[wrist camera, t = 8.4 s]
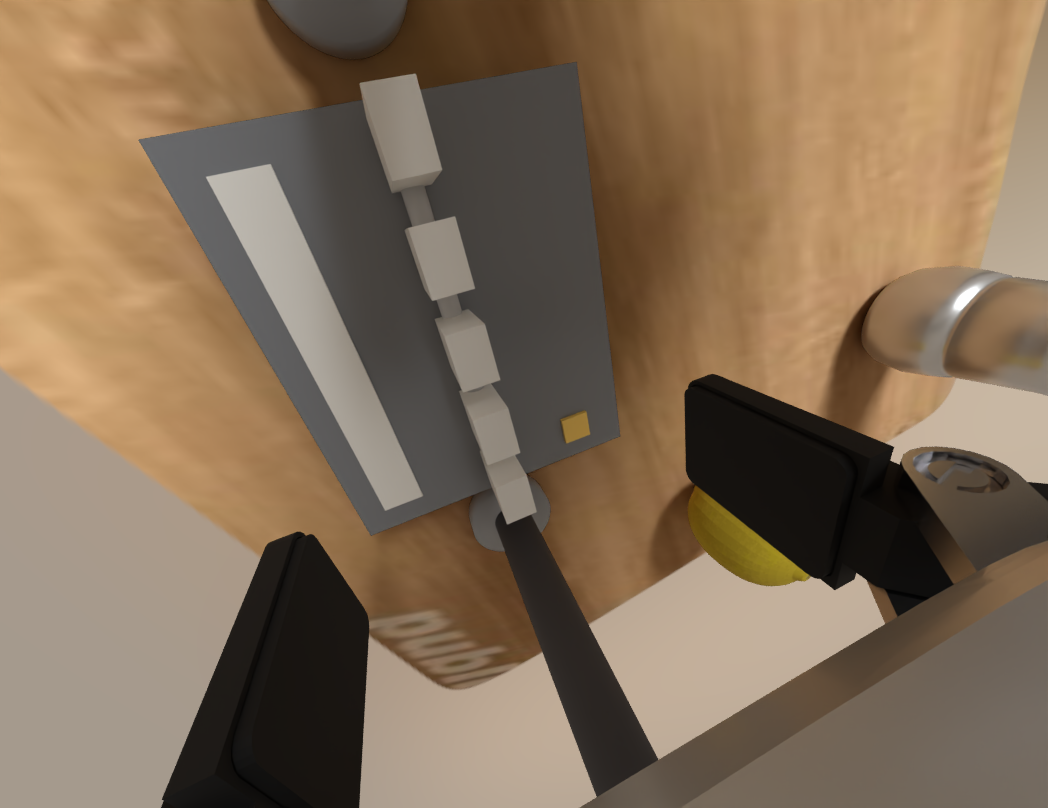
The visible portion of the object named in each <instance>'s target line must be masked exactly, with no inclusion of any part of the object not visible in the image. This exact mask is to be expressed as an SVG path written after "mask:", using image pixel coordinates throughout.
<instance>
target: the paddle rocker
mask: <svg viewBox="0 0 1048 808" xmlns="http://www.w3.org/2000/svg"><path fill="white" fill-rule="evenodd" d="M359 84H360V89H361V94H362V99H363V104H364V109H365V114H366V119H367V122H368V125H369V127H370V130H371V133H372V136H373V139H374V142H375V145H376V148H377V151H378V154H379V157H380V160H381V163H382V166H383V169H384V172H385V175H386V178H387V180H388V183H389V186H390V189H391V192H392V193H396V192H401V194H402V197H403V200H404V203H405V206H406V209H407V212H408V215H409V218H410V221H411V224H412V227H410V228H407V229H406V230H405V233H406V236H407V239H408V242H409V245H410V248H411V251H412V254H413V257H414V260H415V263H416V266H417V269H418V272H419V275H420V278H421V281H422V283H423V286H424V289H425V291H426V292H427V294H428V295H429V297H430V298H431V300H432V301H434V300H437V303H438V306H439V309H440V312H441V315H442V317H440V318H436V319H435V322H436V325H437V328H438V331H439V333H440V336H441V339H442V342H443V345H444V348H445V351H446V354H447V357H448V360H449V363H450V366H451V368H452V370H453V373H454V375H455V377H456V379H457V381H458V383H459V385H460V387H461V389H462V390H461V391H459V392H460V395H461V398H462V401H463V404H464V407H465V410H466V413H467V416H468V419H469V422H470V425H471V428H472V431H473V433H474V435H475V438H476V440H477V442H478V445H479V447H480V449H481V451H480V454H481V457H482V460H483V463H484V466H485V469H486V472H487V475H488V478H489V481H490V484H491V486H492V489H493V491H494V493H495V496H496V498H497V501H498V503H499V506H500V508H501V511H502V513H503V515H504V518H505V520H506V523H507V524H510V523H512V522H514V521H517V520H519V519H522V518H524V517H526V516H529V515H531V514H533V513H536V512H537V511H536V507H535V503H534V500H533V496H532V493H531V489H530V485H529V482H528V478H527V475H526V473H525V471H524V470H523V468H522V466H521V465H520V463H519V461H518V459H517V458H516V456H515V455H516V454H519V453H520V449H519V446H518V442H517V438H516V435H515V431H514V427H513V424H512V420H511V417H510V413H509V409H508V407H507V406H506V404H505V403H504V401H503V400H502V398H501V397H500V396H499V394H498V393H497V391H496V390H495V388H494V387H493V386H492V384H491V383H493V382H496V381H499V380H500V377H499V373H498V370H497V366H496V362H495V359H494V355H493V351H492V348H491V344H490V341H489V337H488V333H487V330H486V326H485V324H484V323H483V322H482V321H481V320H480V319H479V318H478V317H477V316H475V315H474V314H473V313H472V312H471V311H470V310H469V309H467V310H463V311H462V309H461V306H460V303H459V299H458V296H457V294H458V293H462V292H465V291H469V290H472V289H475V286H474V283H473V279H472V275H471V272H470V268H469V265H468V261H467V257H466V254H465V250H464V247H463V243H462V239H461V236H460V232H459V228H458V225H457V221H456V218H455V216H454V217H450V218H446V219H442V220H438V221H435V220H434V216H433V213H432V210H431V206H430V203H429V200H428V196H427V193H426V190H425V186H427V185H431V184H432V183H433V182H434V181H435V179H436V178H437V177H438V175H439V174H440V173H441V171H442V167H441V163H440V160H439V156H438V152H437V149H436V145H435V142H434V138H433V134H432V131H431V127H430V123H429V120H428V116H427V113H426V109H425V105H424V102H423V98H422V94H421V91H420V87H419V84H418V80H417V76H416V73H415V74H409V75H403V76H398V77H392V78H386V79H380V80H374V81H368V82H362V83H359Z"/></svg>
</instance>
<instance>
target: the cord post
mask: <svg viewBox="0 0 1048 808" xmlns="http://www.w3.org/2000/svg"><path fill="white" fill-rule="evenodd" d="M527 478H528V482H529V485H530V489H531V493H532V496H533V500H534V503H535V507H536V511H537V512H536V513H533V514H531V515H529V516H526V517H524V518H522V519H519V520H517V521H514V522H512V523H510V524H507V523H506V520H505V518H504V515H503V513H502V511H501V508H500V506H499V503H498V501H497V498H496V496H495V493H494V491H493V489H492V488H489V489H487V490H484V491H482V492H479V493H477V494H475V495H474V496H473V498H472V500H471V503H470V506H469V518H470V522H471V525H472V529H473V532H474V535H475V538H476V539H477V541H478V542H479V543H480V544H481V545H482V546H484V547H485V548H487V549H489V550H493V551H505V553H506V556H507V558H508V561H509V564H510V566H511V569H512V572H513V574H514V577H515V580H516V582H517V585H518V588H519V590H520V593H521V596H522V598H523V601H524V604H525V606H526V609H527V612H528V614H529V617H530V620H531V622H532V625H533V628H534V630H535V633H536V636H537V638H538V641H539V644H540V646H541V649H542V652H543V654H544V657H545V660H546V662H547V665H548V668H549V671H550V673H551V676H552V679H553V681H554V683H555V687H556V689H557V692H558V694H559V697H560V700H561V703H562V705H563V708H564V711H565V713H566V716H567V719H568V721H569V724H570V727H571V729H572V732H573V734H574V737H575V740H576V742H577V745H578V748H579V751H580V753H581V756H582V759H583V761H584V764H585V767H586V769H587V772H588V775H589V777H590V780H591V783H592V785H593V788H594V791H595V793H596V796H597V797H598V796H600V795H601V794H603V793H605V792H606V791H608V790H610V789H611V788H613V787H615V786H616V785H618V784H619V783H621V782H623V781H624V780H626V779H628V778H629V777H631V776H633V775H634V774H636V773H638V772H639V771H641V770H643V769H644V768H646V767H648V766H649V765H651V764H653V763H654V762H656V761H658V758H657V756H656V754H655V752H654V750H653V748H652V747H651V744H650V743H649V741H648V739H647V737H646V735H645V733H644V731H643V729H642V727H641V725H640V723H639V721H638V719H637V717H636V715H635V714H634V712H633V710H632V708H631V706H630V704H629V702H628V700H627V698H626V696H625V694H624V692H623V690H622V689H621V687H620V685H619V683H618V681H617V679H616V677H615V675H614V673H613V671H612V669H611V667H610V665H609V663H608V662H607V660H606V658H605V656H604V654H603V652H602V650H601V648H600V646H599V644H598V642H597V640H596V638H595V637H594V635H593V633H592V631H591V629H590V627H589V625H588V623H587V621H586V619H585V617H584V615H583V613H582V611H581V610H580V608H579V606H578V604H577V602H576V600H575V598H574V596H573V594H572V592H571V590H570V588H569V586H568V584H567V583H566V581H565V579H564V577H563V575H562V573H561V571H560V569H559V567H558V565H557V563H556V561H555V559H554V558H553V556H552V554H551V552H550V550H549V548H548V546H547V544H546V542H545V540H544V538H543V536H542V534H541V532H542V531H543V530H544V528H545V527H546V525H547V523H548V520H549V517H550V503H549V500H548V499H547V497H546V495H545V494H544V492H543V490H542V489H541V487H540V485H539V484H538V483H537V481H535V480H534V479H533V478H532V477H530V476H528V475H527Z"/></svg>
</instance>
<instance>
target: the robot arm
mask: <svg viewBox="0 0 1048 808" xmlns="http://www.w3.org/2000/svg"><path fill="white" fill-rule="evenodd" d="M685 445H686V473H687V475H688V477H689V479H690V480H691V482H692V483H693V484H695V485H696V486H697V487H698V488H700V489H701V490H702V491H703V492H705V493H706V494H707V495H708V496H710V497H711V498H712V499H713V500H715V501H716V502H717V503H719V504H720V505H721V506H722V507H724V508H725V509H726V510H727V511H729V512H730V513H731V514H732V515H734V516H735V517H736V518H737V519H739V520H740V521H741V522H742V523H744V524H745V525H746V526H747V527H749V528H750V529H751V530H752V531H754V532H755V533H756V534H757V535H759V536H760V537H761V538H762V539H764V540H765V541H766V542H768V543H769V544H770V545H771V546H773V547H774V548H775V549H776V550H778V551H779V552H780V553H781V554H783V555H784V556H785V557H786V558H788V559H789V560H790V561H791V562H793V563H794V564H795V565H796V566H798V567H799V568H800V569H801V570H803V571H804V572H805V573H807V574H808V575H810V576H811V577H814V578H817V579H821V580H822V581H824V582H825V583H826V584H828V585H829V586H830V587H832V588H833V589H834V590H836V589H838V588H840V587H841V586H843V585H845V584H847V583H849V582H850V581H852V580H854V579H855V575H856V573H858V574H859V575H861V576H862V577H863V578H865V579H866V580H867V582H868V584H869V587H870V589H871V591H872V594H873V596H874V599H875V601H876V603H877V605H878V608H879V610H880V612H881V615H882V617H883V620H884V622H885V625H883V626H881V627H880V628H878V629H876V630H875V631H873V632H872V633H870V634H868V635H866V636H865V637H863V638H861V639H860V640H858V641H856V642H855V643H853V644H851V645H849V646H848V647H846V648H844V649H843V650H841V651H839V652H838V653H836V654H834V655H833V656H831V657H829V658H828V659H826V660H824V661H823V662H821V663H819V664H817V665H816V666H814V667H812V668H811V669H809V670H808V671H806V672H804V673H802V674H801V675H799V676H797V677H796V678H794V679H792V680H791V681H789V682H787V683H786V684H784V685H782V686H781V687H779V688H777V689H776V690H774V691H772V692H771V693H769V694H767V695H766V696H764V697H763V698H761V699H759V700H757V701H756V702H754V703H752V704H751V705H749V706H747V707H746V708H744V709H742V710H741V711H739V712H737V713H736V714H734V715H732V716H731V717H729V718H728V719H726V720H724V721H722V722H721V723H719V724H717V725H716V726H714V727H712V728H711V729H709V730H707V731H706V732H704V733H703V734H701V735H699V736H697V737H696V738H694V739H692V740H691V741H689V742H688V743H686V744H684V745H682V746H681V747H679V748H678V749H676V750H674V751H673V752H671V753H669V754H668V755H666V756H664V757H663V758H661V759H659V760H658V761H656V762H654V763H653V764H651V765H649V766H648V767H646V768H644V769H643V770H641V771H639V772H638V773H636V774H634V775H633V776H631V777H629V778H628V779H626V780H624V781H623V782H621V783H619V784H618V785H616V786H615V787H613V788H611V789H610V790H608V791H606V792H605V793H603V794H601V795H600V796H598V797H596V798H595V799H593V800H592V801H590V802H588V803H587V804H585V805H583V806H582V807H580V808H1048V484H1043V483H1032V482H1026V480H1024V479H1023V478H1022V477H1021V476H1020V475H1019V474H1018V473H1017V472H1015V471H1014V470H1012V469H1011V468H1010V467H1008V466H1007V465H1005V464H1003V463H1001V462H999V461H996V460H994V459H992V458H990V457H987V456H983V455H981V454H978V453H974V452H971V451H965V450H961V449H956V448H948V447H920V448H916V449H912V450H910V451H908V452H906V453H905V454H903V457H902V459H901V462H900V465H899V464H897V463H894V462H892V461H890V459H891V455H892V452H893V449H894V447H893V446H891V445H888V444H886V443H883V442H881V441H878V440H876V439H873V438H871V437H868V436H866V435H863V434H861V433H858V432H856V431H854V430H851V429H849V428H846V427H844V426H841V425H839V424H836V423H834V422H831V421H829V420H826V419H824V418H822V417H819V416H817V415H814V414H812V413H809V412H807V411H804V410H802V409H799V408H797V407H794V406H792V405H790V404H787V403H785V402H782V401H780V400H777V399H775V398H772V397H770V396H767V395H765V394H762V393H760V392H758V391H755V390H753V389H750V388H748V387H745V386H743V385H740V384H738V383H735V382H733V381H730V380H728V379H725V378H723V377H721V376H718V375H715V374H710V375H707V376H705V377H702V378H699V379H697V380H694V381H692V382H691V383H690V384H689V386H688V389H687V390H686V391H685ZM368 639H369V620H368V616H367V613H366V611H365V609H364V607H363V606H362V604H361V603H360V602H359V600H358V599H357V597H356V596H355V594H354V593H353V591H352V590H351V588H350V587H349V585H348V584H347V582H346V581H345V579H344V578H343V576H342V575H341V574H340V572H339V571H338V569H337V568H336V566H335V565H334V563H333V562H332V560H331V559H330V557H329V556H328V554H327V553H326V551H325V550H324V548H323V547H322V546H321V544H320V543H319V541H318V540H317V538H316V537H315V536H314V535H312V534H310V535H307V536H306V535H305V534H304V533H302V532H296V533H293V534H290V535H288V536H285V537H282V538H280V539H277V540H275V541H272V542H270V543H268V544H267V546H266V547H265V550H264V552H263V554H262V557H261V559H260V562H259V564H258V567H257V569H256V571H255V574H254V576H253V579H252V581H251V584H250V586H249V589H248V591H247V594H246V596H245V598H244V601H243V603H242V606H241V608H240V610H239V613H238V615H237V618H236V620H235V623H234V625H233V627H232V630H231V632H230V635H229V637H228V640H227V642H226V645H225V647H224V649H223V652H222V654H221V657H220V659H219V662H218V664H217V666H216V669H215V671H214V674H213V676H212V679H211V681H210V683H209V686H208V688H207V691H206V693H205V696H204V698H203V701H202V703H201V705H200V708H199V710H198V713H197V715H196V718H195V720H194V722H193V725H192V727H191V730H190V732H189V735H188V737H187V739H186V742H185V744H184V747H183V749H182V752H181V754H180V756H179V759H178V761H177V764H176V766H175V769H174V771H173V773H172V776H171V778H170V781H169V783H168V786H167V788H166V791H165V793H164V796H163V798H162V800H164V802H163V804H162V807H161V808H359V800H360V781H361V764H362V747H363V746H362V745H363V728H364V711H365V710H364V709H365V693H366V675H367V673H366V672H367V657H368V656H367V655H368Z"/></svg>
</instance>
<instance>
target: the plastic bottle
mask: <svg viewBox="0 0 1048 808" xmlns="http://www.w3.org/2000/svg"><path fill="white" fill-rule="evenodd" d="M861 340H862V345H863V347H864V349H865V350H866V351H867V352H868V353H869V355H870V356H871V357H872V358H873V359H874V360H875V361H878V362H880V363H882V364H885V365H887V366H889V367H892V368H894V369H897V370H899V371H902V372H908V373H915V374H921V375H928V376H938V377H955V378H959V379H965V380H971V381H976V382H981V383H986V384H992V385H997V386H1003V387H1008V388H1014V389H1019V390H1024V391H1030V392H1035V393H1040V394H1043V395H1047V396H1048V281H1045V280H1036V279H1028V278H1020V277H1012V276H1010V275H1007V274H1002V273H998V272H993V271H989V270H983V269H976V268H970V267H963V266H950V267H937V268H925V269H920V270H917V271H915V272H912V273H909V274H907V275H904V276H902V277H899V278H898V279H896V280H894V281H893V282H891V283H890V284H889V285H888V286H886V288H885V289H884V290H883V291H882V292H881V293H880V294H879V295H878V297H877V298H876V299H875V300H874V302H873V304H872V305H871V307H870V309H869V311H868V313H867V315H866V317H865V320H864V323H863V327H862V332H861Z"/></svg>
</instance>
